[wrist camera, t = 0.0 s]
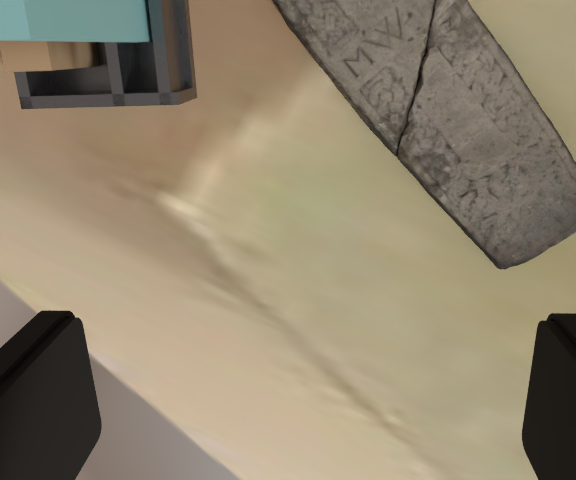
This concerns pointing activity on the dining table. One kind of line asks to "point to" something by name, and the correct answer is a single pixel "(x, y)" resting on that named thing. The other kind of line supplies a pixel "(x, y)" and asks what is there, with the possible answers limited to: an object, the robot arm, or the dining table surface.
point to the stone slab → (449, 115)
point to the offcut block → (47, 55)
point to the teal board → (75, 20)
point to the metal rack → (124, 69)
